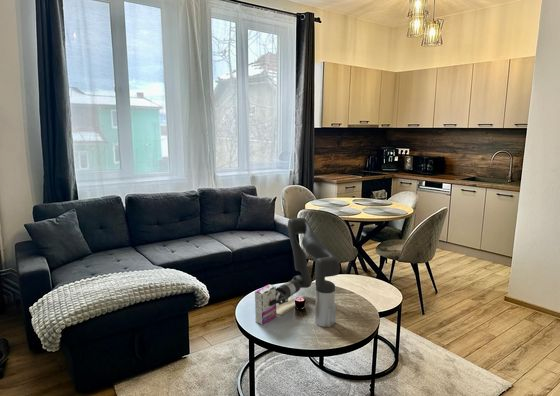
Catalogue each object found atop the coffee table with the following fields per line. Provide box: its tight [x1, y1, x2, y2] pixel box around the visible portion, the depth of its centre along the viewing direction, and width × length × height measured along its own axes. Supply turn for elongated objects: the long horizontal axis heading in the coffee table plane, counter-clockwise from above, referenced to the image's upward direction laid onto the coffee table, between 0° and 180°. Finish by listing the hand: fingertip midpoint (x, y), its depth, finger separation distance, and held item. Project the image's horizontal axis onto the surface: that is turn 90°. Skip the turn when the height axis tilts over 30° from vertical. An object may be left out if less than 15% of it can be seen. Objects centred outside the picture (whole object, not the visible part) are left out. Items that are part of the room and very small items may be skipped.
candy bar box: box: [254, 284, 277, 326], centre depth 189 cm, size 11×5×16 cm, turn 143°
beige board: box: [276, 297, 295, 317], centre depth 205 cm, size 12×19×1 cm, turn 144°
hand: (265, 302), depth 188 cm, fingers closed on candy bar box, 5 cm apart
